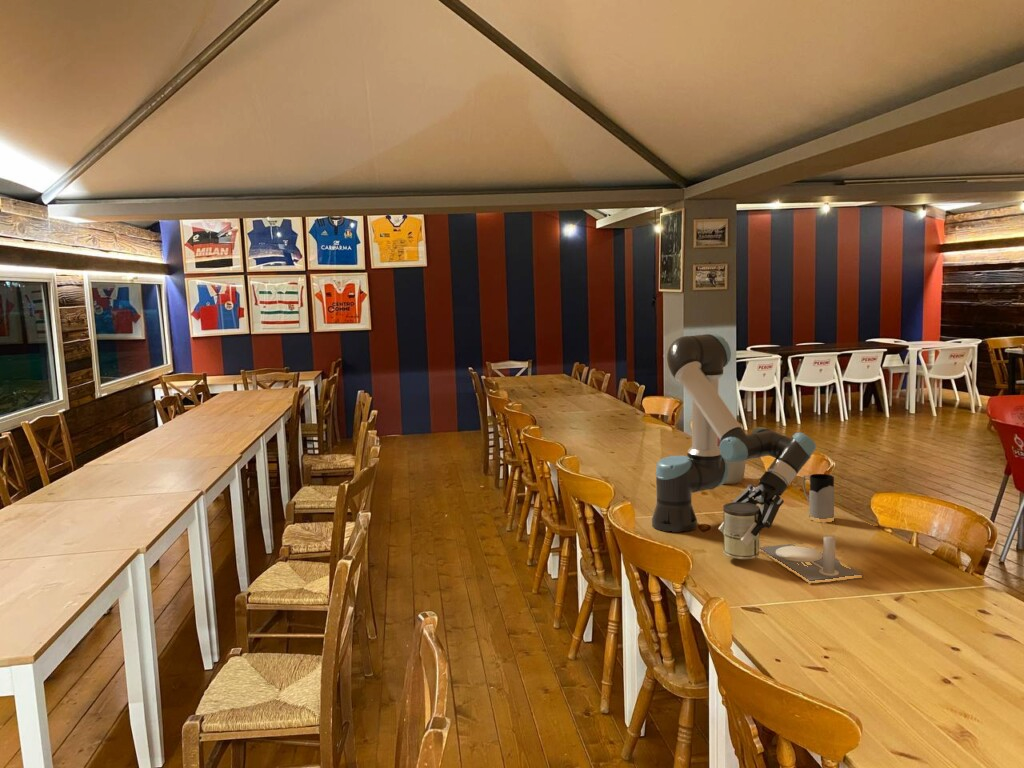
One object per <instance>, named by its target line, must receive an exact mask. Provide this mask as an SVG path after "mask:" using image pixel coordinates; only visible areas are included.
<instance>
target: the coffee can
mask: <svg viewBox="0 0 1024 768" xmlns="http://www.w3.org/2000/svg"><path fill="white" fill-rule="evenodd" d="M722 511H723V521H724V534H723V554H724V555H726V557H730V558H733V559H736V560H737V559H738V560H750V559H751V560H752V559H756V558H757V557H759V556H760V551H759V547H760V532H759V533H758V535H757V536H755V537H754V538H753V539H752V541H751V542H750V543H749V545H748V546H747V545H746V544H745V543H744V542H742V541H741V538H742V537H743V536H744V534H745V533H746V532H747V530H748V529H749V528H750V526H751V525H752V524H753V523H754V522H755V523H757V522H756V521H755V520H757V519H758V515H759V511H760V506H759V505H758V504H756V505H755V504H751V503H745V502H733V501H732V502H728V503H725V504H724V505H723V506H722Z"/></svg>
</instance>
